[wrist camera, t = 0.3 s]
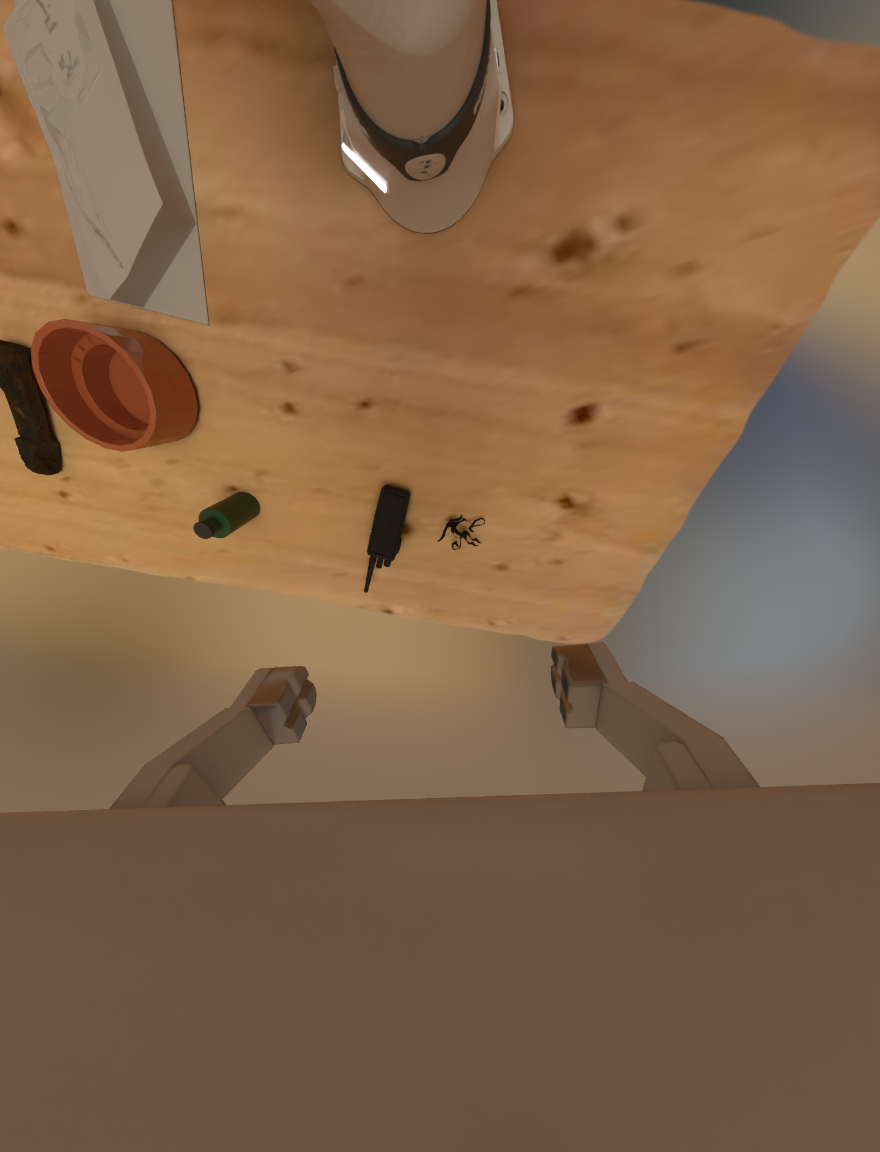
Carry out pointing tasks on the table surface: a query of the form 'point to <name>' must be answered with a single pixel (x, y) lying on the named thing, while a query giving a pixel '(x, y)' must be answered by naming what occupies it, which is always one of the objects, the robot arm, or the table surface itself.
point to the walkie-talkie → (387, 528)
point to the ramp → (117, 144)
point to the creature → (463, 534)
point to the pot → (113, 384)
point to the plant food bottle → (227, 516)
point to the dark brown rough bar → (27, 410)
